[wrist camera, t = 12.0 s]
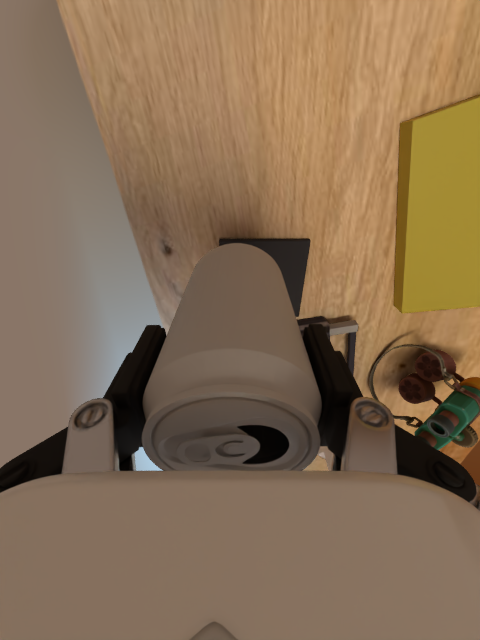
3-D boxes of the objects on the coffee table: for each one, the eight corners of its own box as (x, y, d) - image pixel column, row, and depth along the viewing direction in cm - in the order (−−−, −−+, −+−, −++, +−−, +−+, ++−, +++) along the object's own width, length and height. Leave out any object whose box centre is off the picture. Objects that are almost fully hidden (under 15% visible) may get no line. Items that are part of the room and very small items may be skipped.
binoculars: (380, 378, 49) (464, 445, 39) (333, 404, 42) (421, 493, 32) (419, 321, 41) (536, 386, 31) (368, 340, 34) (499, 432, 25)
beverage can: (281, 318, 19) (323, 494, 10) (199, 323, 20) (158, 499, 10) (282, 235, 16) (353, 379, 6) (183, 243, 16) (92, 392, 6)
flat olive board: (400, 123, 24) (393, 318, 37) (412, 121, 22) (401, 327, 35) (545, 70, 22) (484, 296, 35) (572, 63, 20) (498, 304, 33)
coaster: (223, 313, 37) (222, 316, 36) (219, 238, 31) (219, 240, 30) (297, 313, 37) (298, 316, 36) (309, 238, 31) (310, 240, 30)
